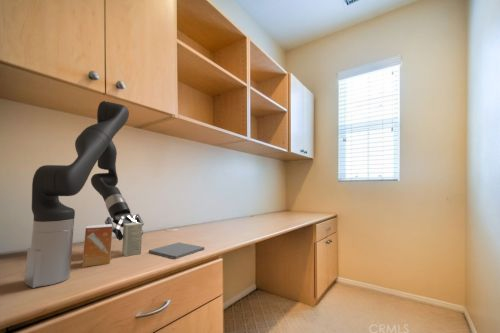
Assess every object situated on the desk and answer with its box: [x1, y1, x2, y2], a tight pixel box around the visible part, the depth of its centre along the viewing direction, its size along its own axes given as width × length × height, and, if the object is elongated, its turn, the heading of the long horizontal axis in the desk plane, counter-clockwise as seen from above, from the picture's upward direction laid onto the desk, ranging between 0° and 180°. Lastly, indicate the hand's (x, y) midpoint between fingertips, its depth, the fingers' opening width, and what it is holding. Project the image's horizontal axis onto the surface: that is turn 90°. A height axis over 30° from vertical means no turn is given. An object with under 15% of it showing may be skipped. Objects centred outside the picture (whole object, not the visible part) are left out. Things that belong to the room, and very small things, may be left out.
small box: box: [82, 223, 113, 268], centre depth 82 cm, size 8×6×13 cm
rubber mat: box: [148, 242, 205, 260], centre depth 98 cm, size 16×16×1 cm
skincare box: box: [121, 222, 143, 257], centre depth 93 cm, size 6×4×12 cm
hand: (131, 236), depth 93 cm, fingers open, 8 cm apart
